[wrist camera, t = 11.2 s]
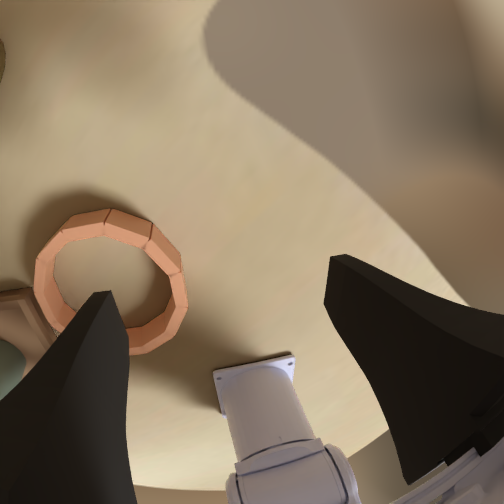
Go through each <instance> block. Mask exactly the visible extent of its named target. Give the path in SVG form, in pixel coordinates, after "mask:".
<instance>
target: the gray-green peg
mask: <svg viewBox="0 0 504 504" xmlns="http://www.w3.org/2000/svg"><path fill="white" fill-rule="evenodd" d="M25 367H26V359H25V357H24V355H23V354H22V353H21V351H20V350H19V349H17V348H16V347H15V346H14V345H12V344H10V343H9V342H6V341H4V340H0V400H1V399H3V398H4V397H5V396H6V395H7V394H8V393H9V392H10V391H11V390H12V389H13V388H14V387H15V386H16V385H17V384H18V383H19V382H20V381H21V380H22V377H23V373H24V370H25Z"/></svg>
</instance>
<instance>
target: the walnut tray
mask: <svg viewBox="0 0 504 504" xmlns="http://www.w3.org/2000/svg"><path fill="white" fill-rule="evenodd" d="M56 339H57V337H56V335H55V333H54V332H53V330H52V328H51V326H50V324H49V323H48V321H47V319H46V317H45V315H44V313H43V311H42V309H41V307H40V305H39V303H38V301H37V299H36V297H35V295H34V292H33V290H32V288H31V287H30V288H23V289H16V290H9V291H1V292H0V340H4V341H6V342H9V343H10V344H12V345H14V346H15V347H16V348H17V349H19V350H20V351H21V353H22V354H23V355H24V357H25V359H26V367H25V370H24V373H23V377H22V379H23V378H24V377H25V376H26V375H27V373H28V372H29V371H30V370H31V369H32V368H33V367H34V366H35V365H36V363H37V362H38V361H39V360H40V359H41V358H42V356H43V355H44V354H45V353H46V351H47V350H48V349H49V348H50V346H51V345H52V344H53V343H54V341H55V340H56Z"/></svg>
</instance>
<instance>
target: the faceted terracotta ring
mask: <svg viewBox="0 0 504 504" xmlns="http://www.w3.org/2000/svg"><path fill="white" fill-rule="evenodd" d="M151 224H152V222H149V221H146V220H144V219H141V218H138V217H135V216H132V215H130V214H127V213H124V212H121V211H118V210H116V209H112V210H111V208H109V209H104V210H98V211H93V212H88V213H83V214H78V215H73V216H72V217H70V218H69V219H68V220H67V221H66V222H65V223H64V224H63V226H62V227H61V228H60V229H59V230H58V231H57V232H56V233H55V234H54V235H53V236H52V237H51V238H50V239H49V241H48V242H47V243H46V245H45V246H44V247H43V249H42V250H41V252H40V253H39V254H38V256H37V258H36V264H35V276H34V294H35V297H36V299H37V301H38V303H39V305H40V307H41V309H42V311H43V313H44V315H45V317H46V319H47V321H48V322H49V323H51V324H50V325H51V326H52V327H53V328H55V329H56V330H57V331H58V332H60V333H62V332H63V330H64V329H65V328H66V326H67V325H68V324H69V322H70V321H71V320H72V319H73V317H74V316H75V315H76V312H75V311H74V310H73V309H71V308H70V307H69V306H68V305H67V304H66V303H65V302H64V301H63V298H62V296H61V294H60V291H59V289H58V287H57V284H56V282H55V280H54V277H53V271H54V264H55V257H56V254H57V253H58V252H59V250H60V249H61V248H62V247H63V246H64V245H65V244H66V243H67V242H70V241H76V240H81V239H87V238H93V237H98V236H107V237H110V238H112V239H115V240H118V241H121V242H124V243H127V244H130V245H133V246H135V247H138V248H141V249H143V250H144V251H145V252H146V253H147V254H148V255H149V256H150V257H151V258H152V259H153V260H154V261H155V262H156V264H157V265H158V266H159V267H160V268H161V269H162V270H163V271H164V272H165V273H166V274H167V275H168V276H169V279H170V283H171V288H172V292H173V293H172V295H171V298H170V300H169V302H168V305H167V307H166V309H165V312H163V313H162V314H160V315H159V316H157V317H156V318H154V319H153V320H151V321H150V322H149V323H147V324H146V325H144V326H143V327H135V328H127V329H126V331H127V334H128V336H129V356H130V355H139V354H146V353H149V352H150V351H152V350H154V349H155V348H157V347H159V346H160V345H162V344H163V343H165V342H167V341H168V340H170V339H172V338H173V337H174V336H175V335H176V333H177V331H178V328H179V326H180V324H181V322H182V320H183V318H184V316H185V314H186V312H187V310H188V299H187V289H186V283H185V278H184V272H183V267H182V261H181V255H180V253H179V252H178V251H177V250H176V248H175V247H174V246H173V245H172V244H171V243H170V242H169V241H168V239H167V238H166V237H165V236H164V235H163V234H162V233H161V232H160V230H159V229H158V228H157V227H156V226H155V225H154V224H152V225H151Z"/></svg>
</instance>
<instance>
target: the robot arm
mask: <svg viewBox="0 0 504 504" xmlns="http://www.w3.org/2000/svg"><path fill="white" fill-rule="evenodd" d="M324 306H325V308H326V310H327V312H328V315H329V317H330V319H331V321H332V323H333V325H334V327H335V329H336V330H337V332H338V334H339V335H340V337H341V338H342V340H343V341H344V343H345V344H346V346H347V348H348V349H349V351H350V352H351V354H352V355H353V357H354V358H355V360H356V361H357V363H358V365H359V366H360V368H361V369H362V371H363V372H364V374H365V376H366V377H367V379H368V381H369V383H370V385H371V387H372V389H373V391H374V393H375V395H376V398H377V400H378V402H379V404H380V406H381V409H382V411H383V414H384V416H385V419H386V421H387V423H388V426H389V429H390V432H391V435H392V437H393V441H394V443H395V446H396V450H397V454H398V457H399V461H400V464H401V468H402V473H403V477H404V479H405V481H406V482H407V484H408V485H411V484H412V483H414V482H416V481H417V480H419V479H421V478H422V477H424V476H425V475H427V474H428V473H430V472H431V471H433V470H434V469H436V468H437V467H439V466H440V465H442V464H443V463H444V462H445V463H446V464H447V466H448V467H447V468H446V469H444V470H443V471H441V472H440V473H439V474H437V475H436V476H434V477H433V478H431V479H430V480H428V481H427V482H425V483H424V484H422V485H421V486H419V487H418V488H416V489H414V490H413V491H411V492H409V493H407V494H406V495H404V496H402V497H401V498H399V499H397V500H395V501H393V502H392V503H390V504H429V503H430V502H431V501H433V500H434V499H436V498H437V497H439V496H440V495H442V499H441V500H440V501H438V502H436V503H434V504H504V315H501V314H496V313H491V312H487V311H482V310H478V309H475V308H471V307H468V306H464V305H461V304H458V303H455V302H452V301H449V300H447V299H444V298H441V297H438V296H436V295H433V294H431V293H428V292H426V291H424V290H422V289H419V288H417V287H415V286H413V285H410V284H408V283H406V282H404V281H402V280H400V279H398V278H396V277H394V276H392V275H390V274H388V273H386V272H384V271H382V270H380V269H378V268H376V267H374V266H372V265H370V264H368V263H366V262H363V261H361V260H359V259H357V258H355V257H352V256H350V255H347V254H343V255H337V256H331V257H330V262H329V270H328V277H327V284H326V291H325V298H324ZM129 364H130V363H129V336H128V334H127V331H126V329H125V326H124V324H123V321H122V319H121V316H120V314H119V311H118V308H117V306H116V303H115V300H114V298H113V295H112V292H111V290H110V291H102V292H95V293H93V294H92V295H91V296H90V297H89V299H88V300H87V301H86V302H85V303H84V305H83V306H82V307H81V308H80V310H79V311H78V312H77V313H76V315H75V316H74V317H73V319H72V320H71V321H70V322H69V324H68V325H67V326H66V328H65V329H64V330H63V332H62V333H61V334H60V335H59V337H58V338H57V339H56V340H55V341H54V343H53V344H52V345H51V346H50V348H49V349H48V350H47V351H46V353H45V354H44V355H43V356H42V358H41V359H40V360H39V361H38V362H37V363H36V365H35V366H34V367H33V368H32V369H31V370H30V371H29V372H28V373H27V375H26V376H25V377H24V378H23V379H22V380H21V381H20V382H19V383H18V384H17V385H16V386H15V387H14V388H13V389H12V390H11V391H10V392H9V393H8V394H7V395H6V396H5V397H4V398H3V399H1V400H0V504H137V500H136V496H135V492H134V487H133V482H132V477H131V471H130V465H129V458H128V450H127V440H126V406H127V390H128V377H129ZM294 367H295V356H294V355H287V356H283V357H279V358H274V359H270V360H265V361H261V362H256V363H251V364H246V365H241V366H236V367H230V368H225V369H219V370H215V371H214V372H213V377H214V382H215V386H216V391H217V395H218V399H219V404H220V408H221V412H222V416H223V418H227V421H228V425H229V429H230V433H231V437H232V441H233V445H234V449H235V453H236V456H237V460H238V463H235V464H234V465H235V468H236V473H231V474H230V475H229V478H228V479H227V481H226V494H227V498H228V503H229V504H361V501H360V498H359V495H358V487H357V482H356V479H355V476H354V473H353V471H352V468H351V466H350V464H349V462H348V460H347V458H346V457H345V455H344V453H343V452H342V451H341V449H340V448H338V447H336V446H333V445H332V444H327V445H325V446H324V445H323V443H322V441H321V439H320V438H317V439H316V437H315V435H314V433H313V431H312V428H311V426H310V424H309V421H308V419H307V417H306V415H305V412H304V410H303V408H302V405H301V403H300V401H299V398H298V396H297V394H296V391H295V389H294V387H293V385H292V382H293V375H294Z"/></svg>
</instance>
